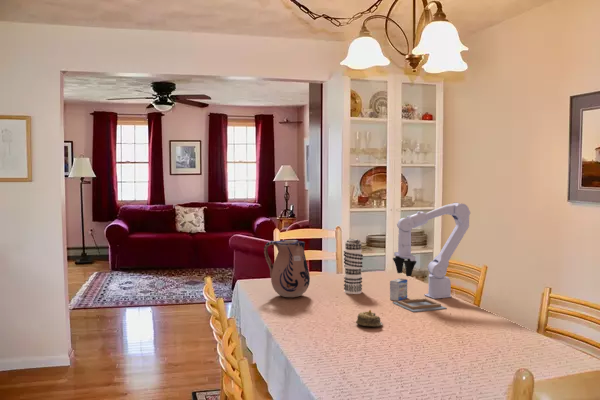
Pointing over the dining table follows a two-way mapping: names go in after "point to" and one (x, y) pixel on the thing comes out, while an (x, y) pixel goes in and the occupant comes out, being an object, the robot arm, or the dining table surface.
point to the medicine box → (398, 289)
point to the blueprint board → (419, 305)
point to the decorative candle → (353, 266)
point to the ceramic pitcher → (288, 268)
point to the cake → (368, 319)
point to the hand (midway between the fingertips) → (404, 274)
